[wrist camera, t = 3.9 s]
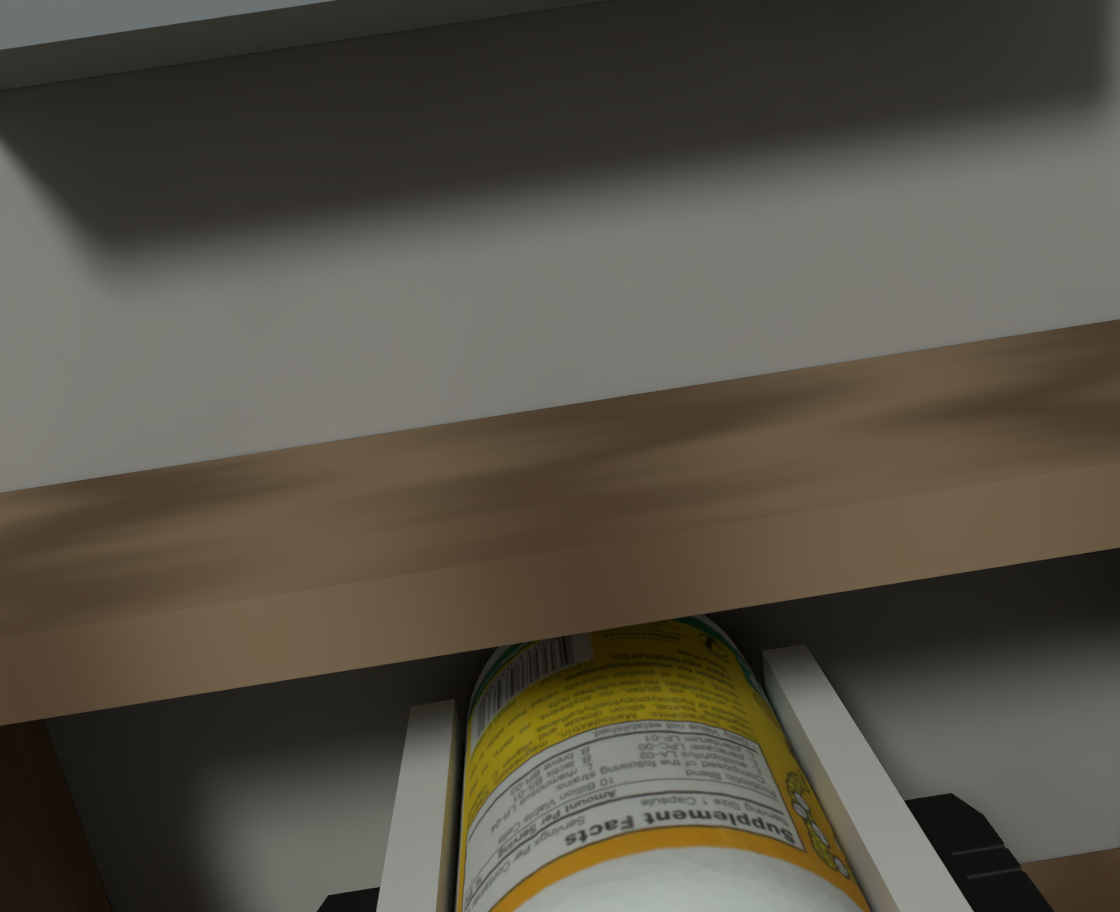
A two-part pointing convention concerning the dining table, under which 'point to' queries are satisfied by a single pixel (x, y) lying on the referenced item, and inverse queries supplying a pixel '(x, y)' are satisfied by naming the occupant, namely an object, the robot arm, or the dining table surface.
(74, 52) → the slate tray
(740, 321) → the dining table surface
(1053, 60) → the dining table surface
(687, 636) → the supplement bottle
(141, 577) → the walnut box
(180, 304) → the dining table surface
